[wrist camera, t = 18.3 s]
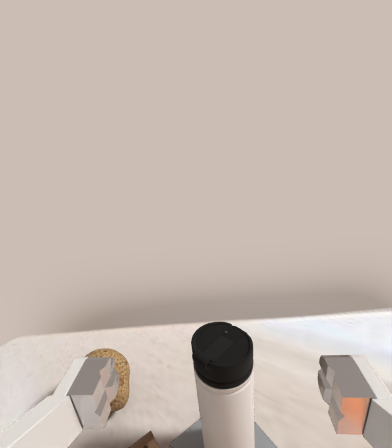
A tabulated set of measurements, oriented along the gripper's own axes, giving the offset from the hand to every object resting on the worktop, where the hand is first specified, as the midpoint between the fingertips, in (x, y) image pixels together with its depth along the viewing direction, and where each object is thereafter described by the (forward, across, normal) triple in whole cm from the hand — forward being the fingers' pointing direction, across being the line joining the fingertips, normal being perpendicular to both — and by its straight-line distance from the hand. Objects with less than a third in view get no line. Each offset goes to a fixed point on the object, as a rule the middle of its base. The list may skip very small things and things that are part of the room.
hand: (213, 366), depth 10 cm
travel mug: (+12, 0, +31) cm, 33 cm away
